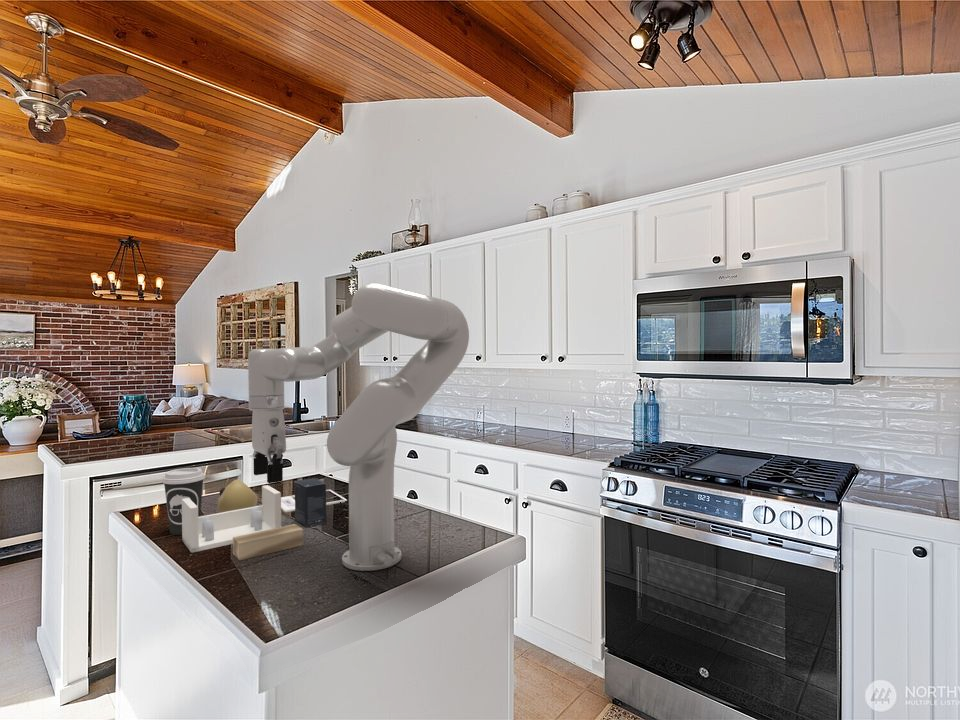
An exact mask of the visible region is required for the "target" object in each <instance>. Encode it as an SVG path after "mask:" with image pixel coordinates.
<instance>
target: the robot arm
mask: <svg viewBox="0 0 960 720" xmlns="http://www.w3.org/2000/svg"><path fill="white" fill-rule="evenodd" d="M331 330H332V332H331V334H330V335H328V336H327V337H325V338H323V339H322V340H321V341H319V342H317V343H315V344H314V345H312V346H310V347H308V346H306V347H304V346H303V347H302V346H301V347H300V346H298V347H289V346H288V347H281V348H253V349H251V350H250V351H249V352H248V355H247V356H248V357H247V358H248V361H247V363H248V364H247V365H248V366H247V369H248V370H247V371H248V374H247V375H248V410H249V411H251V412H252V417H251V418H252V420H251V444H252V445H251V446H252V449H253V454H252V455H253V460H252V461H253V475H254V476H260V475H266V482H267V483H268V484H275V483H280V482H282V481H283V480H284V478H283V476H284V475H283V473H284V472H283V466H284V465H283V463H284V461H283V460H284V459H283V457H284V455H283V454H285V453H286V451H287V441H286V439H287V438H286V425H285V423H286V421H285V415H284V409H285V383H286V382H292V383H293V382H300V381H310V380H315V379H319V378H321V377H323V376H325V375H327V374H329V373H331V372H332V371H334V370H337V368H339V367H340V366H342V365H344V364H345V363H346V362H348V361H349V360H350V358H351V357H353V356H354V354H356V351H358V350H359V349H361V348H362V347H364V346H366V345H367V344H369V343H371V342H372V341H374V340H376V339H377V338H379V337H381V336H383V335H384V334H386V333H388V332H390V333H395V334H399V335H403V336H404V337H405V336H406V337H410V338H413V339H418V340H423V341H426V343H425V344H424V345H423V346H421V348H420V349H419V350H418V351H416V352H415V354H414V355H412V357H410V359H409V361H407V363H406V364H405V365H403V367H402V368H401V370H399V371H398V373H396V374H395V375H394V376H392V377H386V378H382V379H378V380H375V381H373V382H372V383H370V384H369V385H367V386H366V387H365V388H364V389H363V390H361V391H360V393H359V394H358V395H357V396H356V398H355V399H354V400H353V401H352V402H351V403H350V405H349V406H347V408H346V409H345V410H344V411H343V413H342V414H341V415H340V416H339V418H337V420H336V421H335V422H334V424H333V425H332V426H331V428H330V430H329V432H328V435H327V439H326V448H327V452H328V454H329V456H330V458H331V459H332V460H333V461H334V462H336V463H337V464H339V465H341V466H345V467H349V474H348V550H346V551H345V552H344V553H343V554H342V555H341V563H342V565H343V566H344V567H345V568H347V569H350V570H354V571H357V572H359V571H360V572H373V571H379V570H384V569H387V568H391V567H393V566H394V565H397V564H398V563H399V562H400V561H401V560H402V550H401V549H400V548H399V547H398V546H396V542H395V498H394V497H395V495H394V494H395V489H394V487H395V458H396V453H397V452H396V451H397V446H398V445H397V444H398V443H397V442H398V433H397V429H396V426H398V425H400V424H403V423H407V422H409V421H411V420H413V419H414V418H415V417H416V416H417V415H418V414H419V413H420V412H421V410H423V408H424V407H425V406H426V404H427V403H429V401H430V400H431V399H432V397H433V396H434V395H435V394H436V393H437V392H438V390H439V389H440V388H441V387H442V386H443V384H444V383H445V382H446V381H447V380H448V378H450V376H452V374H453V373H454V372H455V371H456V369H457V368H458V366H459V365H460V363H461V362H462V361H463V359H464V358H465V356H466V352H467V350H468V347H469V342H470V330H469V325H468V321H467V319H466V316H465V314H464V313H463V311H462V310H461V309H460V308H459V306H457V305H456V304H455V303H452V302H451V301H449V300H445V299H441V298H438V297H435V296H431V295H425V294H421V293H417V292H413V291H408V290H404V289H400V288H397V287H394V286H391V285H387V284H385V283H384V284H383V283H379V282H369V283H367V284H364V285H362V286H360V287H359V288H358V289H357V290H356V291H355V293H354V294H353V296H352V299H351V306H350V307H348V308H346V309H345V310H344V311H342V312H340V313H339V314H337V315H336V316H334V317H333V318H332V320H331Z"/></svg>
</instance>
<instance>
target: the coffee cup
mask: <svg viewBox="0 0 960 720" xmlns="http://www.w3.org/2000/svg"><path fill="white" fill-rule="evenodd" d="M202 470H203V469H202V468H199V467H184V468H177V469H176V468H175V469H172V470H169V471H166V472H165V475H164V476H163V478H162V480H161V483H162V484H163V485H164V492H165V493H164V494H165V499H166V508H167V518H168V525H169V527H168V528H169V533H170V534H171V535H174V536H175V535H178V536H179V535H182V499H185V498H189V499H190V500H191V501H192V502H193V503H194V504H195V505H196V506H197V507H198V517H200V516H201V513H202V511H201V510H202V498H203V487H204V486H203V485H204V480H205V479H206V474H205V473H204V472H203V471H202Z"/></svg>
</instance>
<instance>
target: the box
mask: <svg viewBox="0 0 960 720" xmlns="http://www.w3.org/2000/svg"><path fill="white" fill-rule="evenodd" d="M326 490H327V483H326V482H323V481H321V480H319V479H316V478H306V479H301V480H295V481H294V495H295V497H294V500H295V511H294V519H295V521H296V522H298V523H300V524H302V525H303V526H304V527H307V528H308V527H311V526H318V525H323V524H326V522H327V505H326V503H327V492H326Z"/></svg>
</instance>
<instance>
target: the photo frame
mask: <svg viewBox="0 0 960 720" xmlns="http://www.w3.org/2000/svg"><path fill="white" fill-rule="evenodd" d="M328 492H331V493H332V494H334V495H336V496H337V497H339V498H340V500H334V501H329V502H328V501H327V502H326V506H328V505H329V506H330V505H334V504H340V502H341V503H346V502H345V501H347V502H348V499H346V498H345V497H344V496H342V495H340V494H338V493H337V492H335V491H334V490H332V489H326V493H328ZM281 511H283V512H284V513H289V512H295V494H293V495H288V496H281Z"/></svg>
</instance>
